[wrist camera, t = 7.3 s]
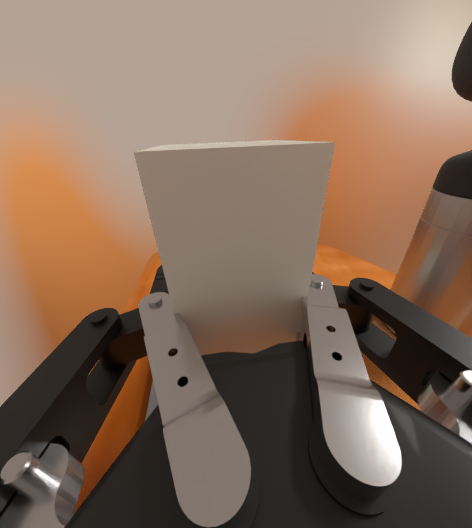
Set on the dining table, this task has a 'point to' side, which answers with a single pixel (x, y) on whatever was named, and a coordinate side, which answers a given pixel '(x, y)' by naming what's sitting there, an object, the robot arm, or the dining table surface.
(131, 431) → the dining table surface
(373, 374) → the dining table surface
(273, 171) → the cream block
